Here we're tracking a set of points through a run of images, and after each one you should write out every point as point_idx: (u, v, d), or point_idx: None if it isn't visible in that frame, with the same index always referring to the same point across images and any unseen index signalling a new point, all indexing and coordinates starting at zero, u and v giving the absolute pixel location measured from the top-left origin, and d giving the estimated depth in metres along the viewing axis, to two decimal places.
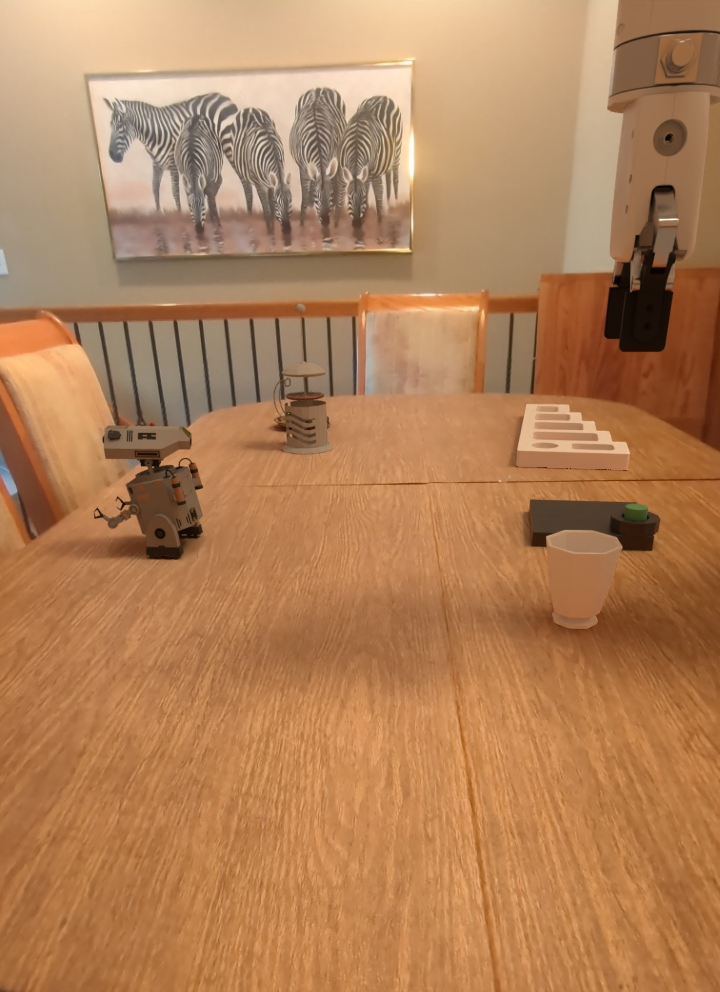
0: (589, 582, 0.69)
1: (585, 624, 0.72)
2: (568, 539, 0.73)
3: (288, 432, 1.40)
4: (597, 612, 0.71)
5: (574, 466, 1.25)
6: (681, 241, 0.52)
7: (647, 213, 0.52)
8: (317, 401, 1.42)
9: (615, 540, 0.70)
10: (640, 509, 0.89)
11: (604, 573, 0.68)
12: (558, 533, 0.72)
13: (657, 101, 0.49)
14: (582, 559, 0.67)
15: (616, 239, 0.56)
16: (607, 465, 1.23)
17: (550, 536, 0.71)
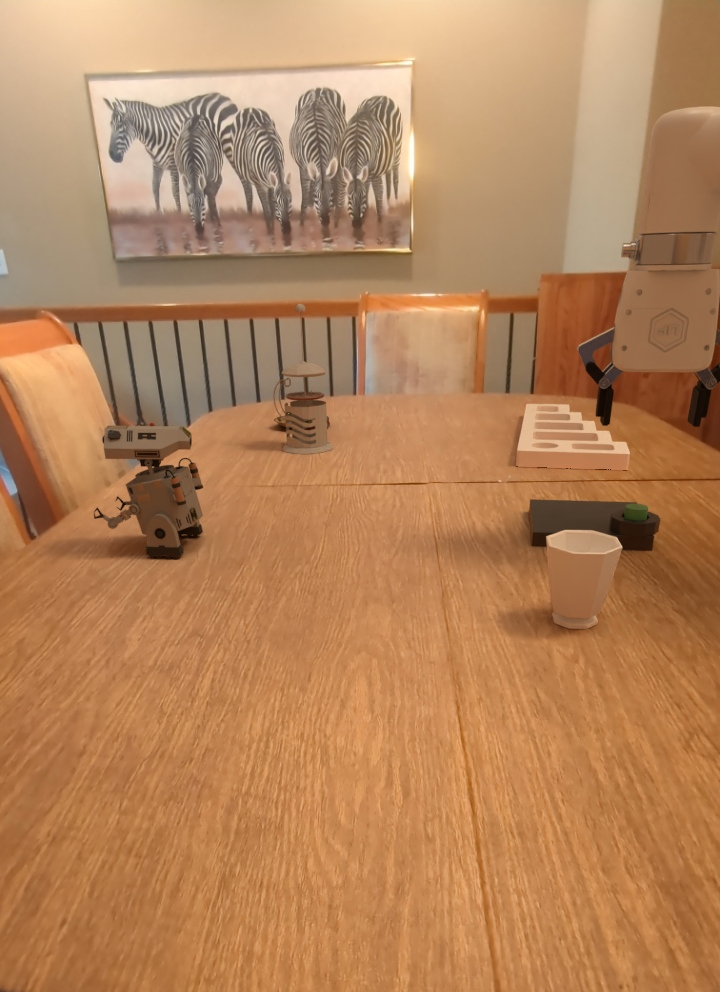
0: (589, 582, 0.69)
1: (585, 624, 0.72)
2: (568, 539, 0.73)
3: (288, 432, 1.40)
4: (597, 612, 0.71)
5: (574, 466, 1.25)
6: (612, 359, 0.82)
7: None
8: (317, 401, 1.42)
9: (616, 540, 0.70)
10: (640, 509, 0.89)
11: (604, 573, 0.68)
12: (558, 533, 0.72)
13: None
14: (582, 559, 0.67)
15: None
16: (607, 465, 1.23)
17: (550, 536, 0.71)
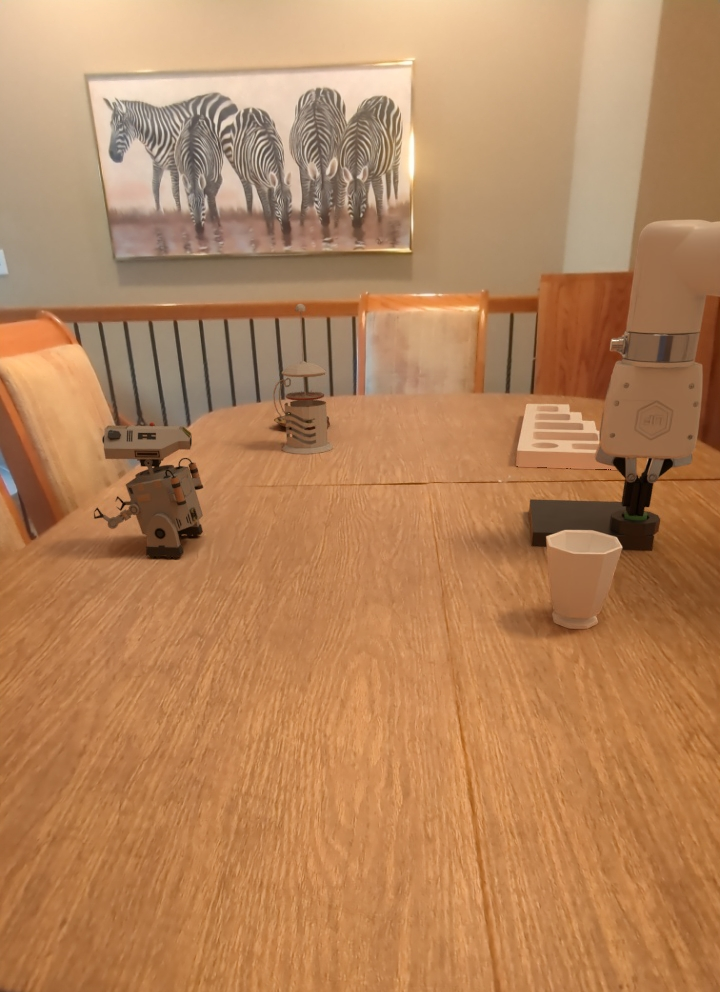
0: (589, 582, 0.69)
1: (585, 624, 0.72)
2: (568, 539, 0.73)
3: (288, 432, 1.40)
4: (597, 612, 0.71)
5: (574, 466, 1.25)
6: (601, 444, 0.86)
7: None
8: (317, 401, 1.42)
9: (616, 540, 0.70)
10: None
11: (604, 573, 0.68)
12: (558, 533, 0.72)
13: (615, 365, 0.84)
14: (582, 559, 0.67)
15: None
16: (607, 465, 1.23)
17: (550, 536, 0.71)
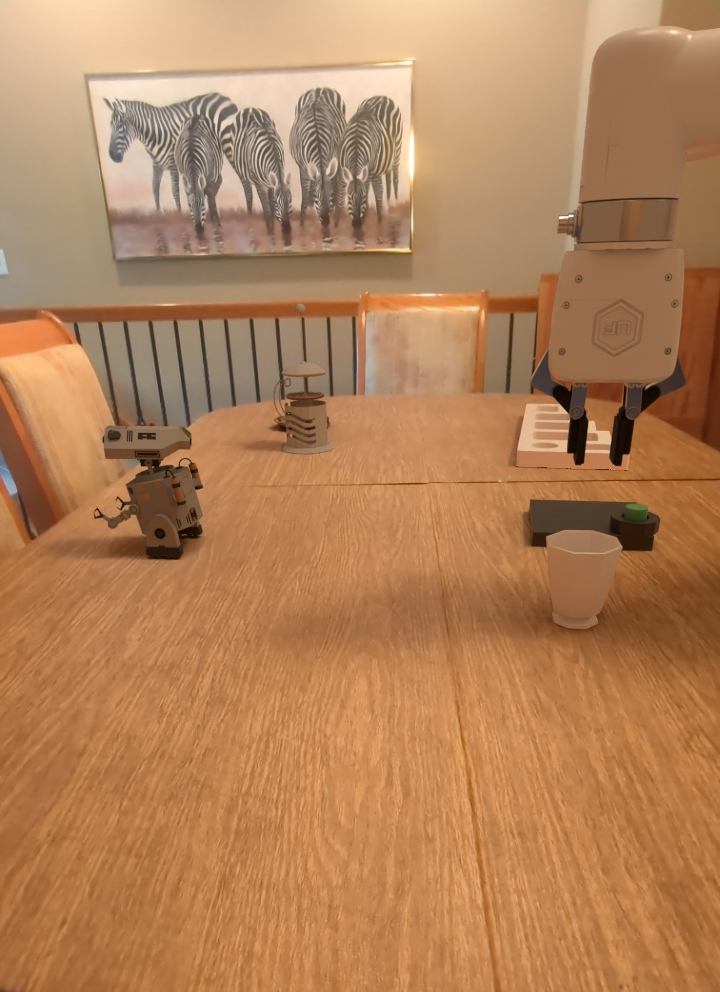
0: (589, 582, 0.69)
1: (585, 624, 0.72)
2: (568, 539, 0.73)
3: (288, 432, 1.40)
4: (597, 612, 0.71)
5: (574, 466, 1.25)
6: (548, 365, 0.63)
7: None
8: (317, 401, 1.42)
9: (616, 540, 0.70)
10: (640, 509, 0.89)
11: (604, 573, 0.68)
12: (558, 533, 0.72)
13: None
14: (582, 559, 0.67)
15: None
16: (607, 465, 1.23)
17: (550, 536, 0.71)
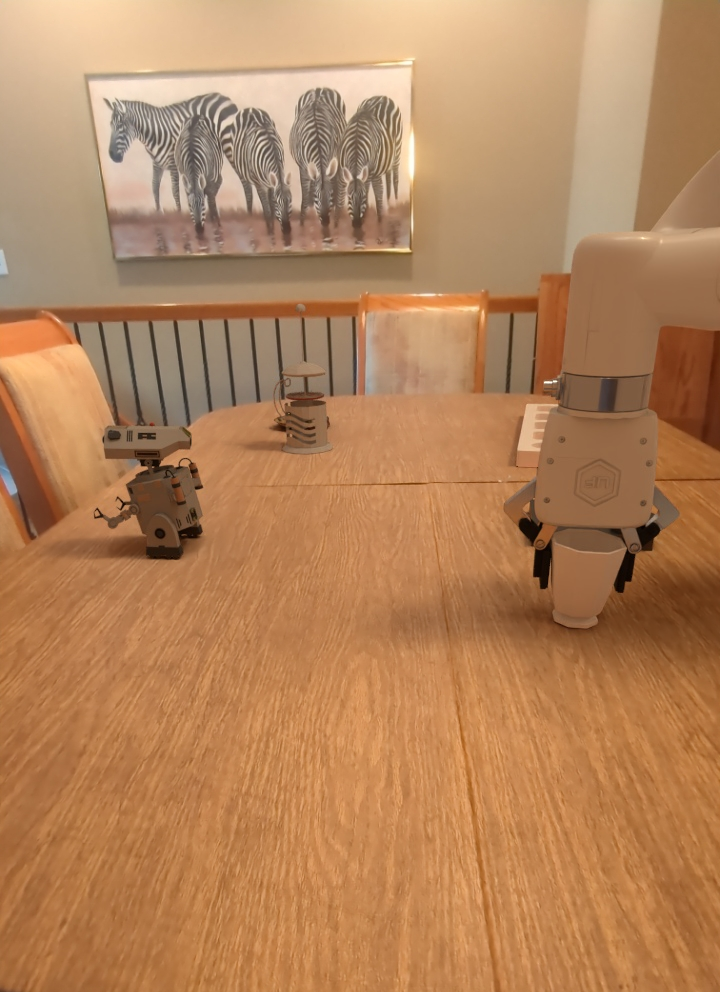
0: (592, 582, 0.68)
1: (585, 624, 0.72)
2: (572, 538, 0.73)
3: (288, 432, 1.40)
4: (598, 612, 0.71)
5: None
6: None
7: None
8: (317, 401, 1.42)
9: (620, 541, 0.70)
10: None
11: (607, 573, 0.68)
12: (563, 531, 0.72)
13: None
14: (587, 558, 0.67)
15: None
16: None
17: (555, 534, 0.71)
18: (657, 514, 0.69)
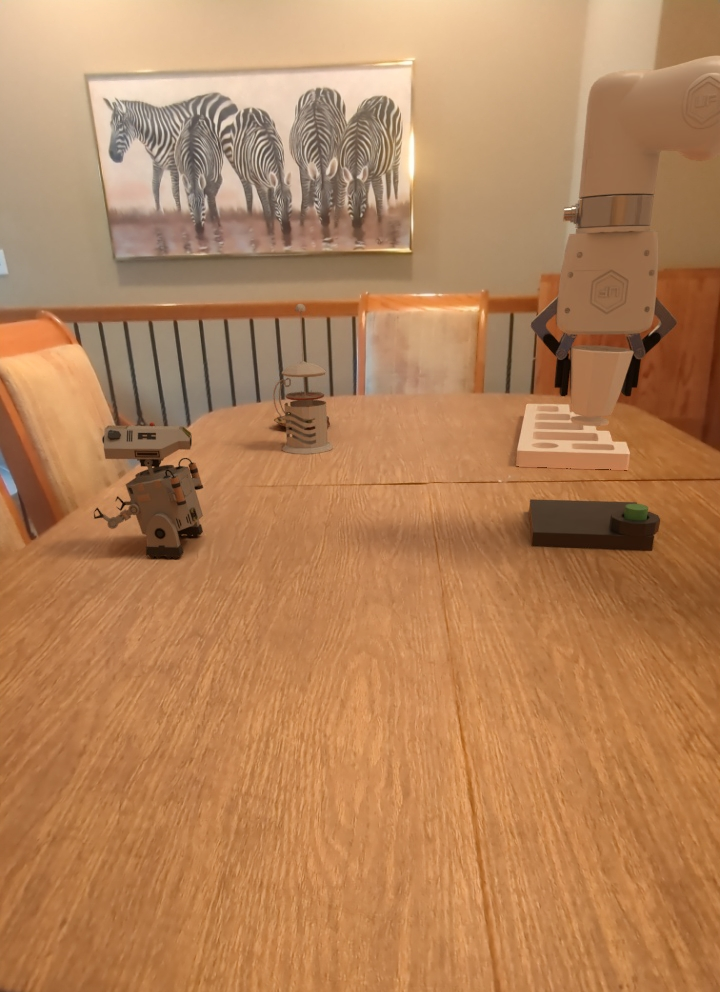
0: (605, 380, 0.83)
1: (599, 422, 0.86)
2: None
3: (288, 432, 1.40)
4: (609, 412, 0.86)
5: (574, 466, 1.25)
6: (556, 322, 0.83)
7: None
8: (317, 401, 1.42)
9: (627, 350, 0.84)
10: (640, 509, 0.89)
11: (617, 373, 0.83)
12: (579, 346, 0.86)
13: None
14: (601, 358, 0.82)
15: None
16: (607, 465, 1.23)
17: (573, 347, 0.85)
18: (658, 325, 0.83)
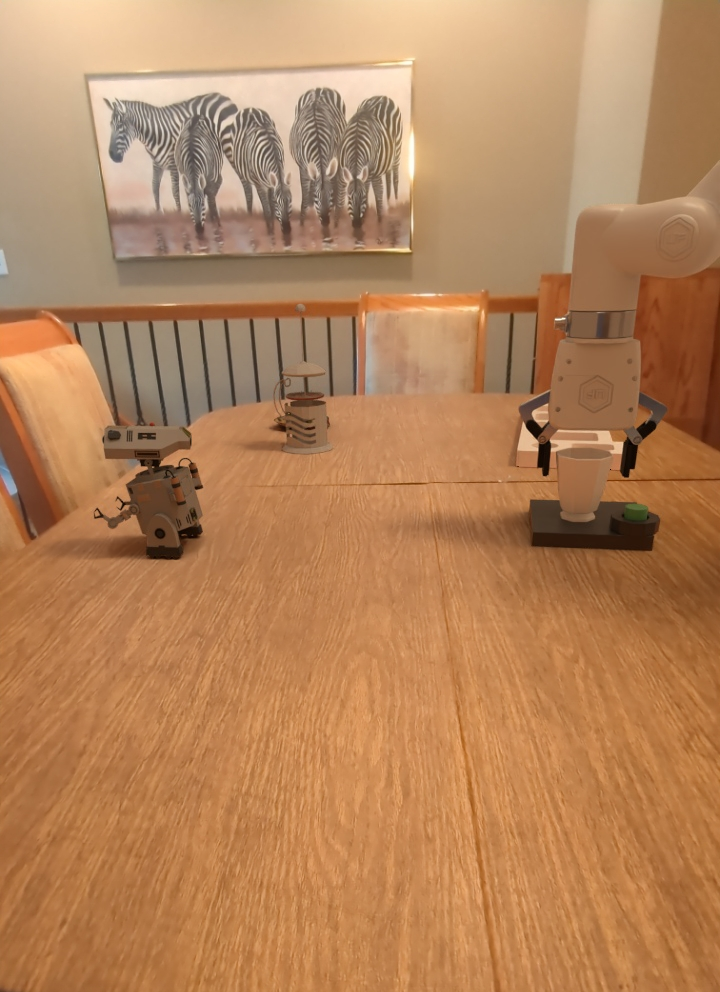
0: (588, 483, 0.91)
1: (585, 518, 0.94)
2: (572, 454, 0.95)
3: (288, 432, 1.40)
4: (594, 509, 0.94)
5: None
6: None
7: None
8: (317, 401, 1.42)
9: (608, 453, 0.92)
10: (640, 509, 0.89)
11: (600, 476, 0.91)
12: (565, 449, 0.95)
13: None
14: (583, 465, 0.90)
15: None
16: None
17: (559, 451, 0.94)
18: (651, 413, 0.90)
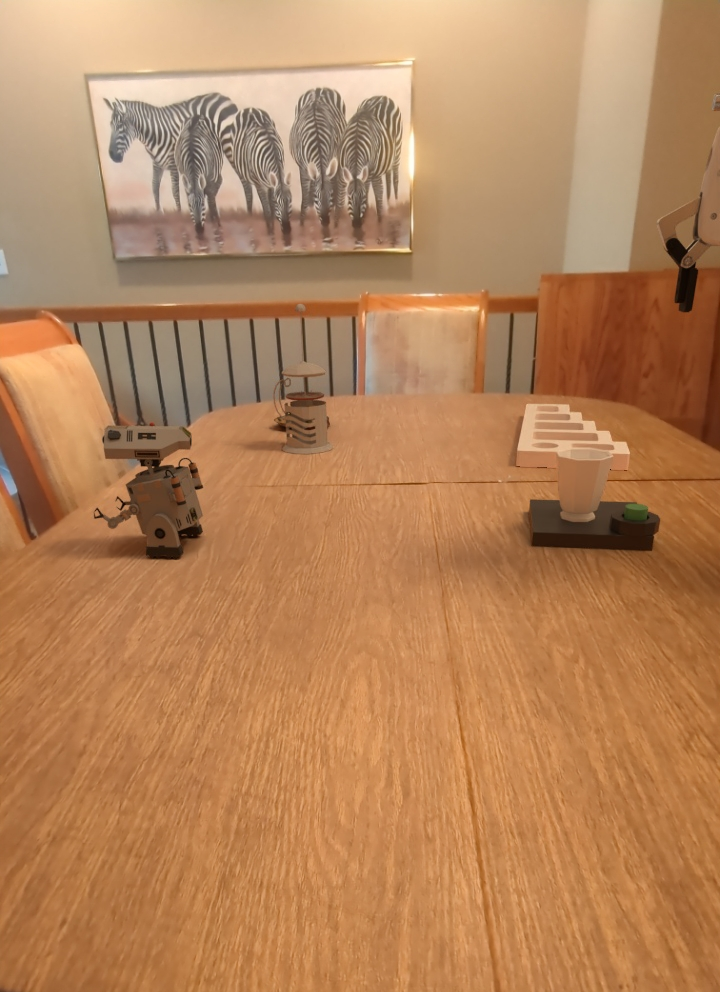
0: (588, 483, 0.91)
1: (585, 518, 0.94)
2: (572, 454, 0.95)
3: (288, 432, 1.40)
4: (594, 509, 0.94)
5: None
6: (698, 231, 0.72)
7: None
8: (317, 401, 1.42)
9: (608, 453, 0.92)
10: (640, 509, 0.89)
11: (600, 476, 0.91)
12: (565, 449, 0.95)
13: None
14: (583, 465, 0.90)
15: None
16: None
17: (559, 451, 0.94)
18: None
